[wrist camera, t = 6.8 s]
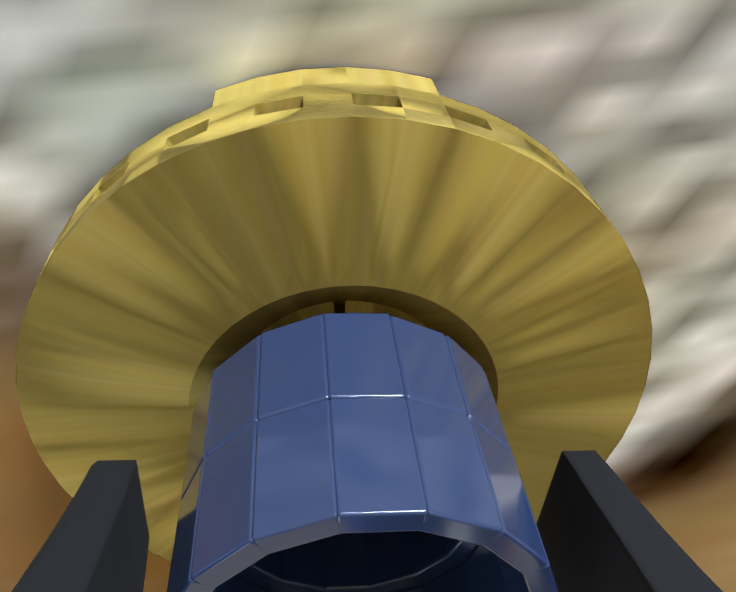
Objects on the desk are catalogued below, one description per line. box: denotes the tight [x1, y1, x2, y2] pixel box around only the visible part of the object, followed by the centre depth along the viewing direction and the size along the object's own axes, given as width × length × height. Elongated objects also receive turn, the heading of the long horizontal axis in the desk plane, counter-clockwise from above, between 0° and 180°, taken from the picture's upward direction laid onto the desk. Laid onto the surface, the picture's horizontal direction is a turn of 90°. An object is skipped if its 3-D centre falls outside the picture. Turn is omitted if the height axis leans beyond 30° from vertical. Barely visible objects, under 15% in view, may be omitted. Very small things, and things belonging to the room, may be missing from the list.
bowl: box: [167, 312, 558, 592], centre depth 12 cm, size 6×6×4 cm
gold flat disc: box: [16, 67, 652, 561], centre depth 15 cm, size 12×12×2 cm
